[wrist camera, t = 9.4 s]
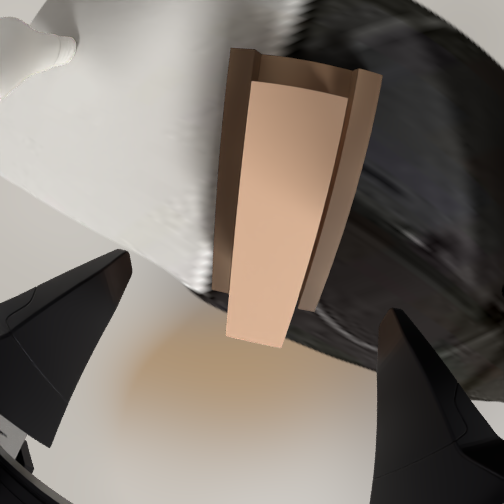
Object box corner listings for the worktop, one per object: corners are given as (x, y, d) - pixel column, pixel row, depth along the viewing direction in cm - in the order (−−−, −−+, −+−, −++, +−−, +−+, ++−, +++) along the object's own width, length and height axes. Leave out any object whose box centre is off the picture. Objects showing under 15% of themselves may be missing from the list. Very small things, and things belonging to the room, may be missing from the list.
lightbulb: (68, 98, 16) (-45, 140, 7) (43, 58, 14) (-60, 84, 5) (110, 43, 13) (-22, 55, 4) (80, 4, 11) (-34, 7, 2)
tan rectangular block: (330, 95, 13) (348, 98, 7) (292, 269, 20) (281, 348, 14) (276, 84, 13) (251, 80, 7) (251, 260, 20) (225, 335, 14)
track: (371, 78, 12) (384, 76, 10) (316, 284, 21) (315, 312, 19) (242, 54, 13) (228, 47, 11) (222, 264, 22) (210, 289, 20)
